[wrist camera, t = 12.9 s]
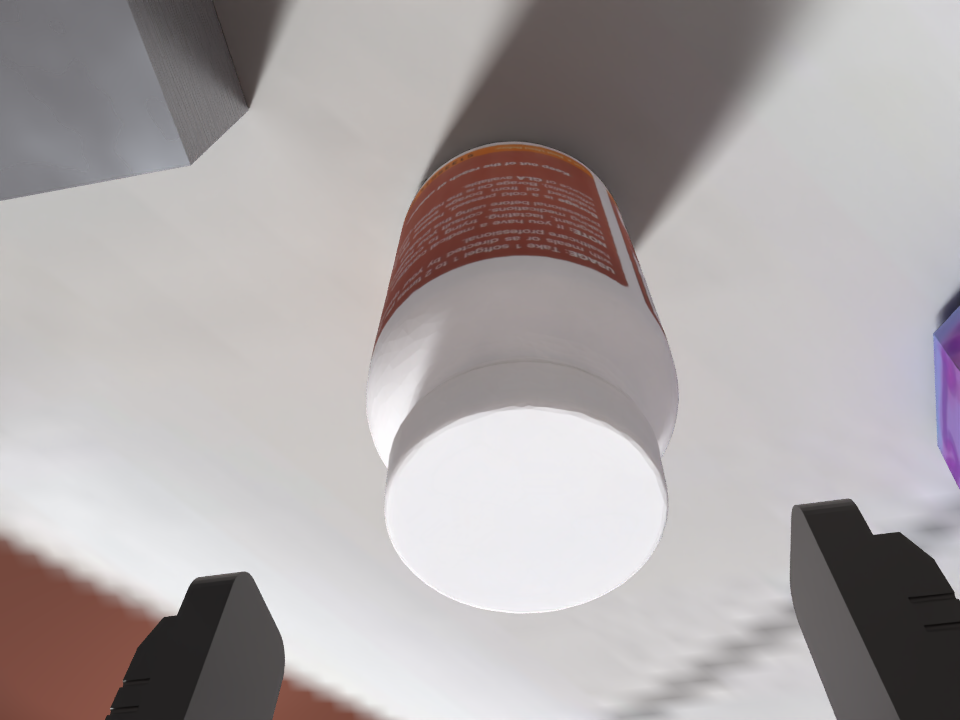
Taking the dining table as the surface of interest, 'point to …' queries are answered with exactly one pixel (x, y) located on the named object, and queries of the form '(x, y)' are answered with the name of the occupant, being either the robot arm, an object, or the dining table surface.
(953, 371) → the lantern
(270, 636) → the robot arm
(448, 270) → the pill bottle
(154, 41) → the bore housing
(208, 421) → the dining table surface
